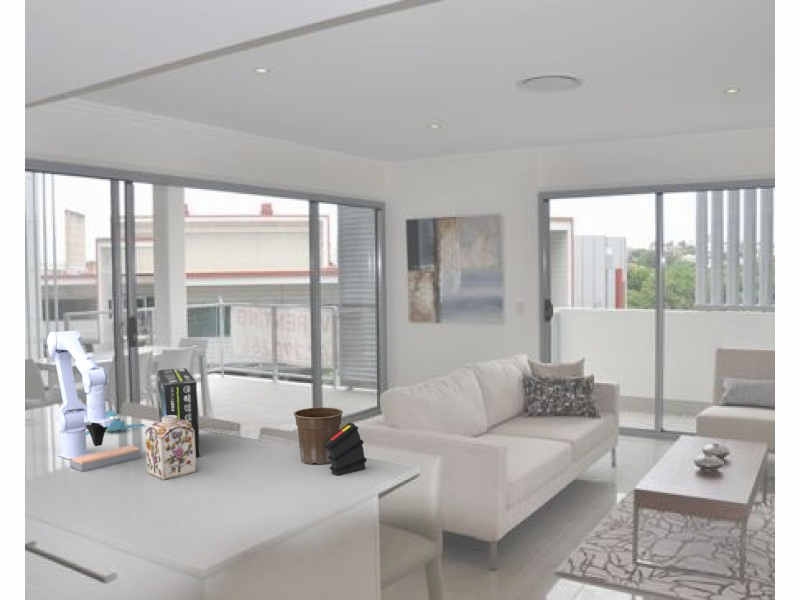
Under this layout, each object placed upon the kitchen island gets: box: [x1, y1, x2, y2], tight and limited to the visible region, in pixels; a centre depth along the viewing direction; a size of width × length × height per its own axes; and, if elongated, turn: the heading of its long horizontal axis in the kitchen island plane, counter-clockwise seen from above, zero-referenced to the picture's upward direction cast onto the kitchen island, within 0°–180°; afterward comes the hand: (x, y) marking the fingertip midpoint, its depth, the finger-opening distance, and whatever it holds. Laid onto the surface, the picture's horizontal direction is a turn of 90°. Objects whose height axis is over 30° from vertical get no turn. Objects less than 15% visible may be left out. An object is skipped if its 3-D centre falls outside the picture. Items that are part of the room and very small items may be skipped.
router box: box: [156, 368, 201, 458], centre depth 253 cm, size 36×11×27 cm, turn 23°
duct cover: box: [70, 445, 140, 464], centre depth 235 cm, size 7×20×1 cm, turn 139°
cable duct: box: [69, 451, 141, 473], centre depth 236 cm, size 8×20×2 cm, turn 139°
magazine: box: [324, 422, 367, 476], centre depth 218 cm, size 4×13×15 cm, turn 127°
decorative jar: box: [144, 415, 197, 481], centre depth 222 cm, size 12×12×18 cm
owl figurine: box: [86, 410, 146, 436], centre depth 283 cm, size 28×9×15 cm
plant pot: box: [293, 406, 344, 465], centre depth 233 cm, size 16×16×16 cm
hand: (98, 445), depth 234 cm, fingers closed
